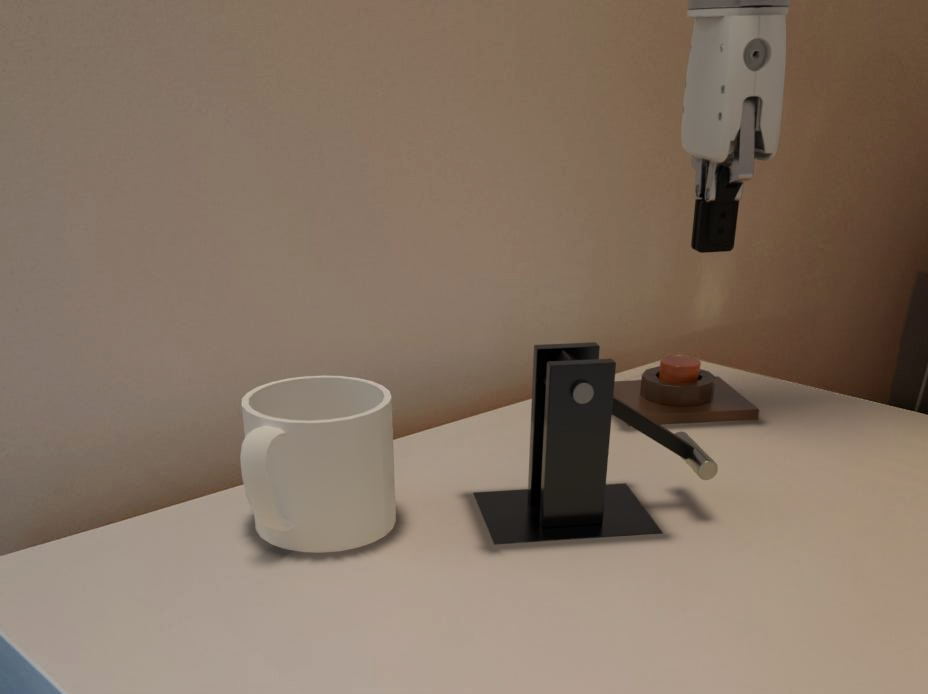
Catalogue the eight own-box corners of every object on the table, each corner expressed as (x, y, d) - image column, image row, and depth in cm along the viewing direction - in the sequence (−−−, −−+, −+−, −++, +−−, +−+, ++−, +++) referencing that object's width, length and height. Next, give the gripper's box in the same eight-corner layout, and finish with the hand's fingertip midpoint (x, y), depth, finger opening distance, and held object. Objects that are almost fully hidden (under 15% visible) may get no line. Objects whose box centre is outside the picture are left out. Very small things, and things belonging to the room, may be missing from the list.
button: (690, 373, 94) (692, 354, 93) (704, 385, 91) (706, 365, 90) (653, 375, 93) (655, 356, 92) (665, 386, 90) (668, 367, 89)
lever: (676, 458, 75) (696, 431, 74) (705, 489, 70) (726, 461, 69) (536, 372, 70) (555, 342, 69) (556, 399, 65) (577, 367, 64)
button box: (715, 398, 99) (721, 357, 97) (756, 432, 90) (763, 389, 88) (597, 404, 97) (600, 363, 95) (627, 439, 89) (631, 395, 87)
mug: (310, 498, 78) (299, 368, 73) (421, 524, 74) (419, 388, 68) (204, 564, 69) (182, 419, 63) (324, 597, 65) (312, 446, 59)
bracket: (624, 498, 78) (640, 332, 71) (661, 549, 70) (683, 368, 64) (472, 507, 76) (474, 339, 70) (493, 560, 69) (497, 377, 62)
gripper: (831, -11, 70) (791, 264, 79) (747, -4, 82) (721, 233, 92) (728, -9, 69) (700, 269, 78) (659, -1, 82) (642, 237, 91)
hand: (711, 249), depth 85 cm, fingers closed
